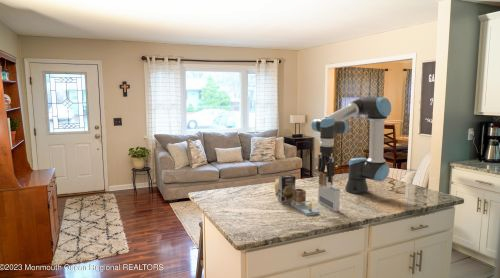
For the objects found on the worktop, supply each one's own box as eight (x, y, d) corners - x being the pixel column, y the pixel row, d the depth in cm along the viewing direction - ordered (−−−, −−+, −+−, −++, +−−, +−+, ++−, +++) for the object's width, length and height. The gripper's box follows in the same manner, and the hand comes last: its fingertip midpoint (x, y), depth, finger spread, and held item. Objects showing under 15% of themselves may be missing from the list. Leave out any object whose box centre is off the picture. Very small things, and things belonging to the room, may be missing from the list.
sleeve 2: (326, 185, 193) (327, 171, 192) (332, 187, 187) (332, 173, 186) (318, 185, 191) (318, 172, 190) (323, 188, 186) (324, 174, 185)
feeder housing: (322, 201, 208) (323, 180, 206) (338, 210, 191) (339, 188, 190) (317, 202, 207) (318, 181, 205) (334, 211, 190) (334, 189, 188)
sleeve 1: (300, 201, 203) (301, 188, 202) (305, 204, 198) (305, 191, 197) (292, 202, 202) (293, 189, 201) (296, 205, 196) (297, 191, 195)
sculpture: (291, 190, 231) (291, 175, 229) (291, 196, 219) (291, 180, 218) (274, 190, 232) (274, 175, 231) (274, 195, 220) (274, 179, 219)
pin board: (302, 203, 205) (302, 194, 204) (319, 214, 186) (319, 204, 185) (290, 204, 202) (290, 195, 201) (306, 215, 183) (306, 206, 183)
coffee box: (281, 203, 204) (282, 177, 202) (277, 200, 210) (278, 175, 208) (295, 201, 207) (295, 176, 205) (290, 198, 213) (291, 174, 211)
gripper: (312, 143, 194) (311, 182, 197) (330, 148, 176) (328, 191, 179) (323, 143, 196) (322, 181, 199) (342, 147, 179) (340, 190, 182)
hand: (325, 186), depth 189 cm, fingers closed on sleeve 2, 6 cm apart
